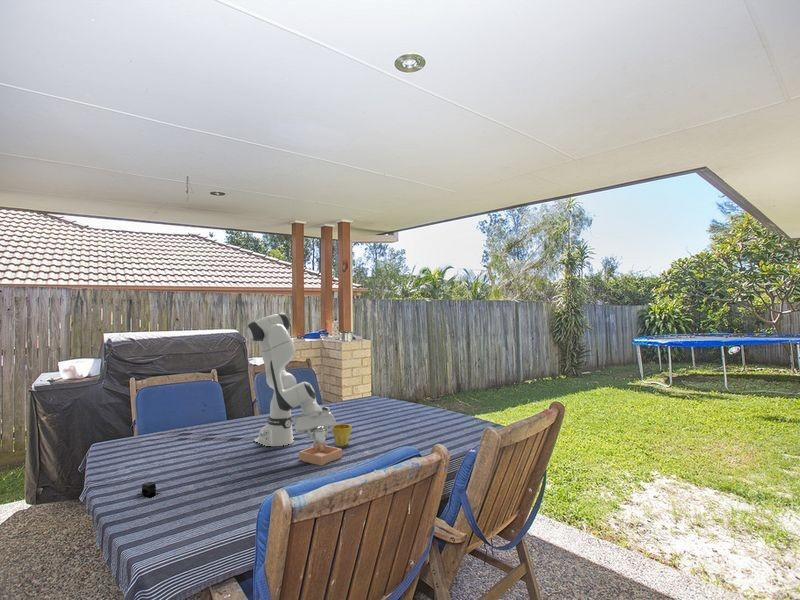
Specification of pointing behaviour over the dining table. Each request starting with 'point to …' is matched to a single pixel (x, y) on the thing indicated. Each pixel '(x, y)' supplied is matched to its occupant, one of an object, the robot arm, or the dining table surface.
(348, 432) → the plant pot
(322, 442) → the silver metal cylinder
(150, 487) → the black block
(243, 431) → the dining table surface
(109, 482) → the dining table surface
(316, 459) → the terracotta bin
